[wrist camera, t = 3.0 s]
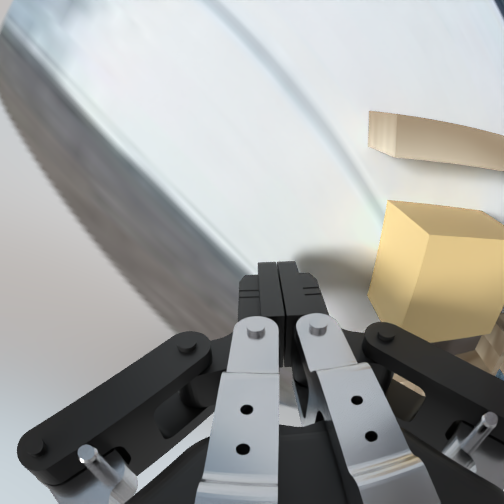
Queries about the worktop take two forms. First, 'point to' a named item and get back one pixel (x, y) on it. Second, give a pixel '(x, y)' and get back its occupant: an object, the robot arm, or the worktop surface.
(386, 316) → the ochre block
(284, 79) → the worktop surface
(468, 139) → the trap lane
